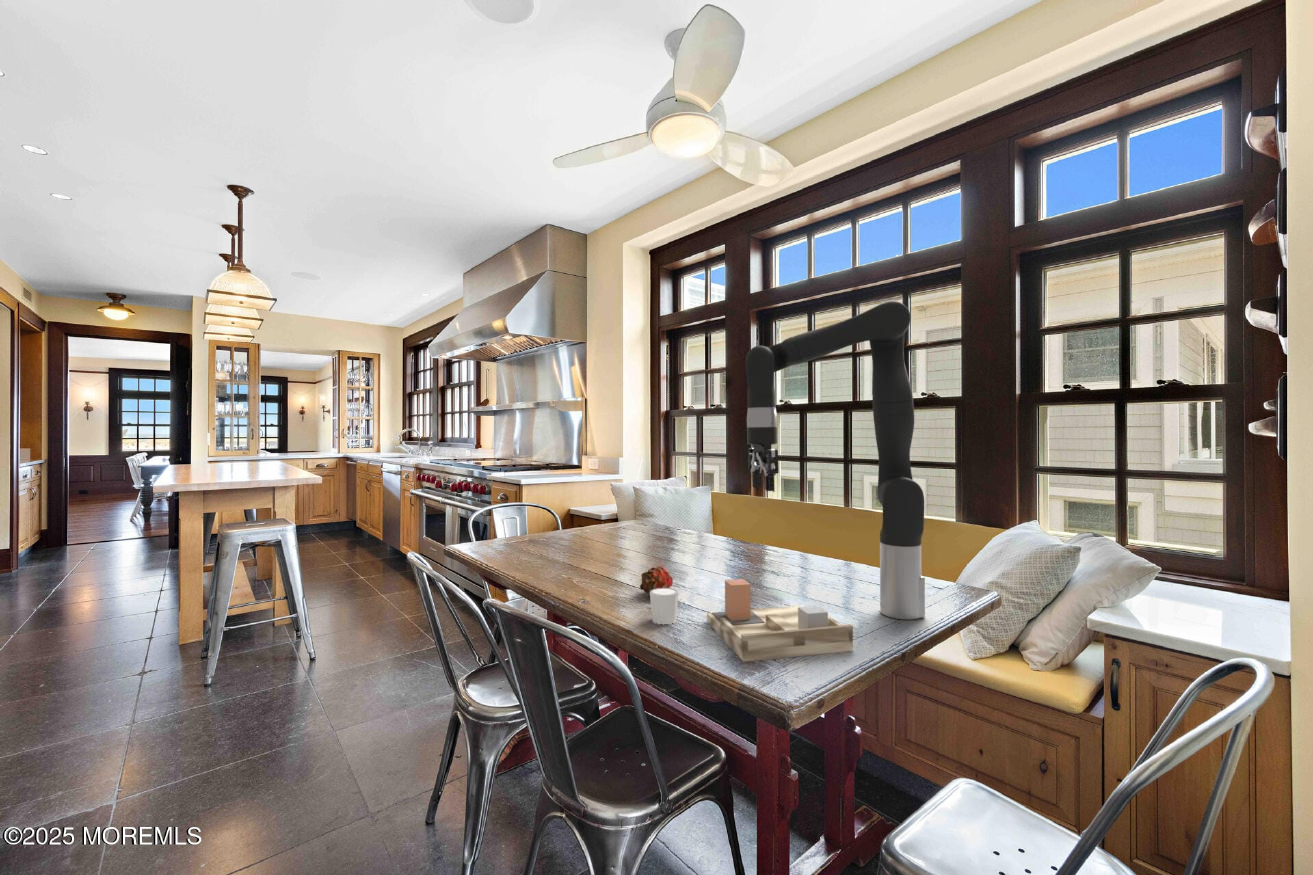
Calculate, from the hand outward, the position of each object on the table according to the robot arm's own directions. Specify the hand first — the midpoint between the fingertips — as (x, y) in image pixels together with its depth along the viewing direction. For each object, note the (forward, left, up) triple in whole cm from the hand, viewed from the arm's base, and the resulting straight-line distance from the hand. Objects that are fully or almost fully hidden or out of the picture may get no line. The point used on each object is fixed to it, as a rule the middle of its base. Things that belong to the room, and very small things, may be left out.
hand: (763, 489), depth 147 cm
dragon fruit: (+28, -9, -30) cm, 42 cm away
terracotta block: (+8, +16, -28) cm, 33 cm away
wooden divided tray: (+1, +21, -30) cm, 36 cm away
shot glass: (+25, +12, -30) cm, 41 cm away
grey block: (-7, +25, -28) cm, 38 cm away
